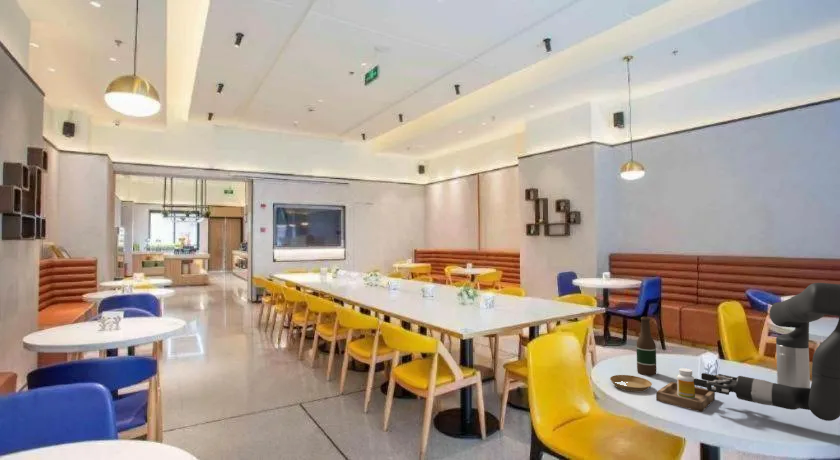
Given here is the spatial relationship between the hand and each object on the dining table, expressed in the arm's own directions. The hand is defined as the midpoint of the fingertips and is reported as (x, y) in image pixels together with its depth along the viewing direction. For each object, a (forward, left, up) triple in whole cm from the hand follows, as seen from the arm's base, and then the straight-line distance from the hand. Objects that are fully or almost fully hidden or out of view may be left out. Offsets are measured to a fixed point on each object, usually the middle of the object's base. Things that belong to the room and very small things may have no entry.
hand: (697, 378), depth 149 cm
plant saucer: (0, -23, -9) cm, 25 cm away
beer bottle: (-22, -25, -9) cm, 34 cm away
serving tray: (0, -4, -8) cm, 9 cm away
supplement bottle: (0, -4, -8) cm, 8 cm away
